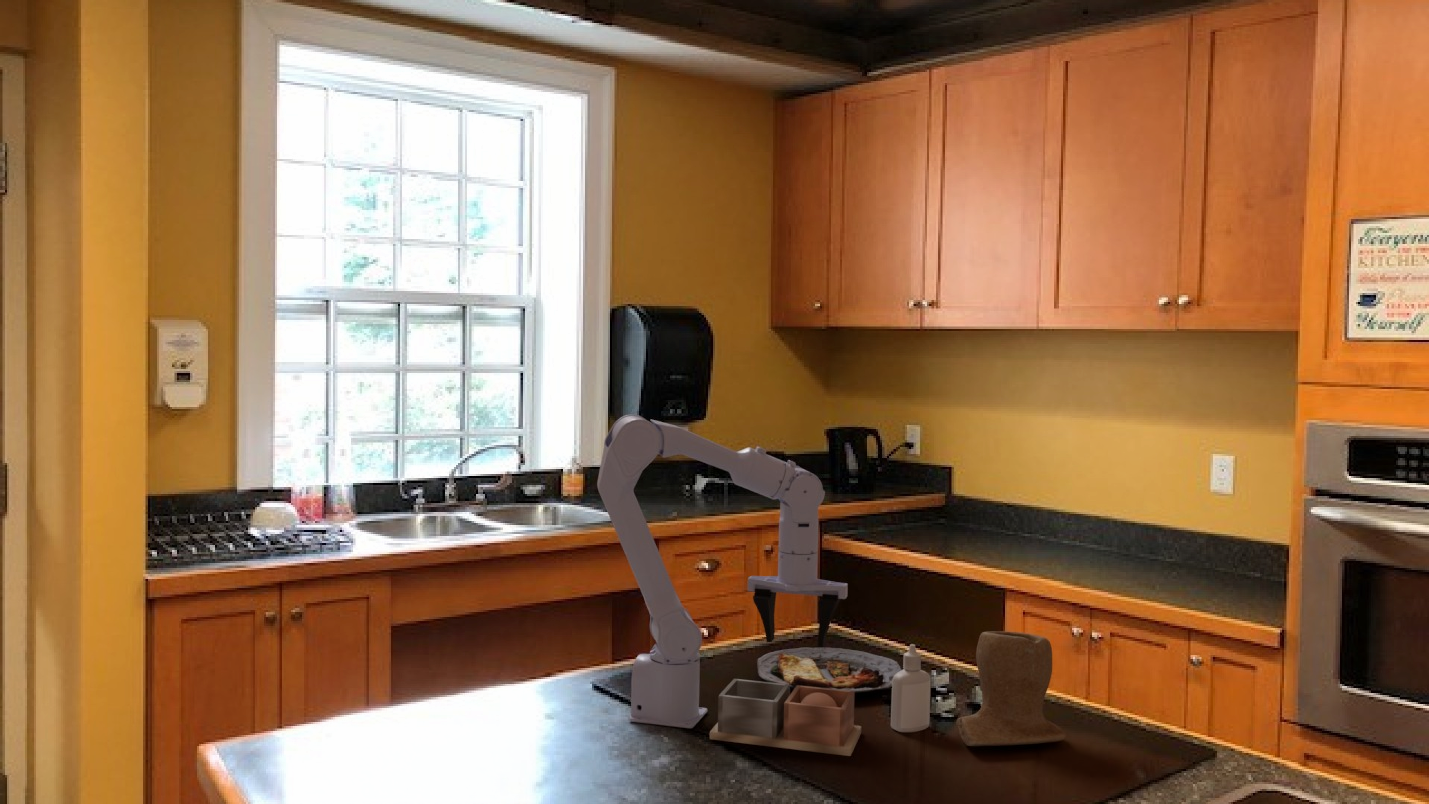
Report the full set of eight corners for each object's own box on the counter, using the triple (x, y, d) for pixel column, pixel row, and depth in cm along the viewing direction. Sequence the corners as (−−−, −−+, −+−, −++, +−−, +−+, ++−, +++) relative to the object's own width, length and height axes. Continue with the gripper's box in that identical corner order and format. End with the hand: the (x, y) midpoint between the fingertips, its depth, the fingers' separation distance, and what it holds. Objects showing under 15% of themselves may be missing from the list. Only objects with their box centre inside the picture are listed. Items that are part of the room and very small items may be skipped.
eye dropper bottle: (932, 734, 161) (935, 649, 160) (892, 733, 161) (894, 648, 160) (927, 723, 165) (929, 641, 165) (888, 722, 165) (890, 640, 165)
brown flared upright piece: (1034, 722, 167) (1038, 620, 166) (1076, 751, 155) (1080, 642, 154) (936, 727, 164) (939, 623, 163) (971, 757, 152) (975, 646, 151)
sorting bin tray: (709, 739, 157) (710, 696, 157) (727, 717, 166) (728, 676, 166) (850, 756, 152) (851, 711, 151) (861, 733, 161) (862, 691, 160)
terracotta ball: (795, 738, 156) (794, 698, 155) (803, 725, 161) (802, 686, 161) (835, 740, 154) (834, 700, 154) (842, 727, 159) (841, 688, 159)
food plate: (914, 705, 173) (914, 682, 173) (759, 703, 173) (759, 680, 173) (890, 662, 198) (891, 641, 198) (755, 660, 198) (755, 640, 198)
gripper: (743, 552, 165) (741, 645, 166) (842, 559, 161) (840, 654, 162) (754, 543, 172) (752, 633, 173) (850, 550, 168) (848, 642, 169)
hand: (795, 642), depth 168 cm, fingers open, 7 cm apart
